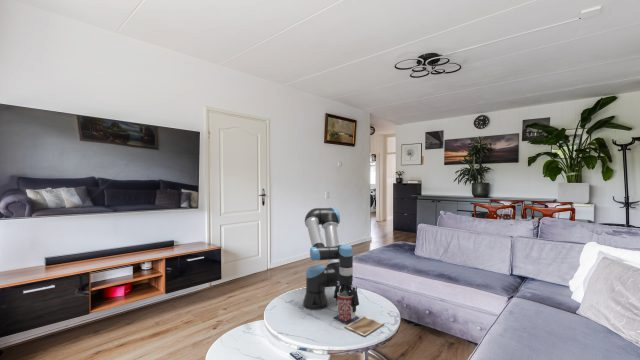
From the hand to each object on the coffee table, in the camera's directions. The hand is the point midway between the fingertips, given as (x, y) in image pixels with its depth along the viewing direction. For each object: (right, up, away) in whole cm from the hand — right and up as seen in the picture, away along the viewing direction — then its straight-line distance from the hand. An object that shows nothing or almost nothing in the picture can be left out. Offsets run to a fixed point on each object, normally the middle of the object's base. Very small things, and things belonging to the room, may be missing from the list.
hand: (346, 314), depth 160 cm
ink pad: (0, -2, 0) cm, 2 cm away
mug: (0, -2, 0) cm, 2 cm away
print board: (+9, -2, -9) cm, 13 cm away
